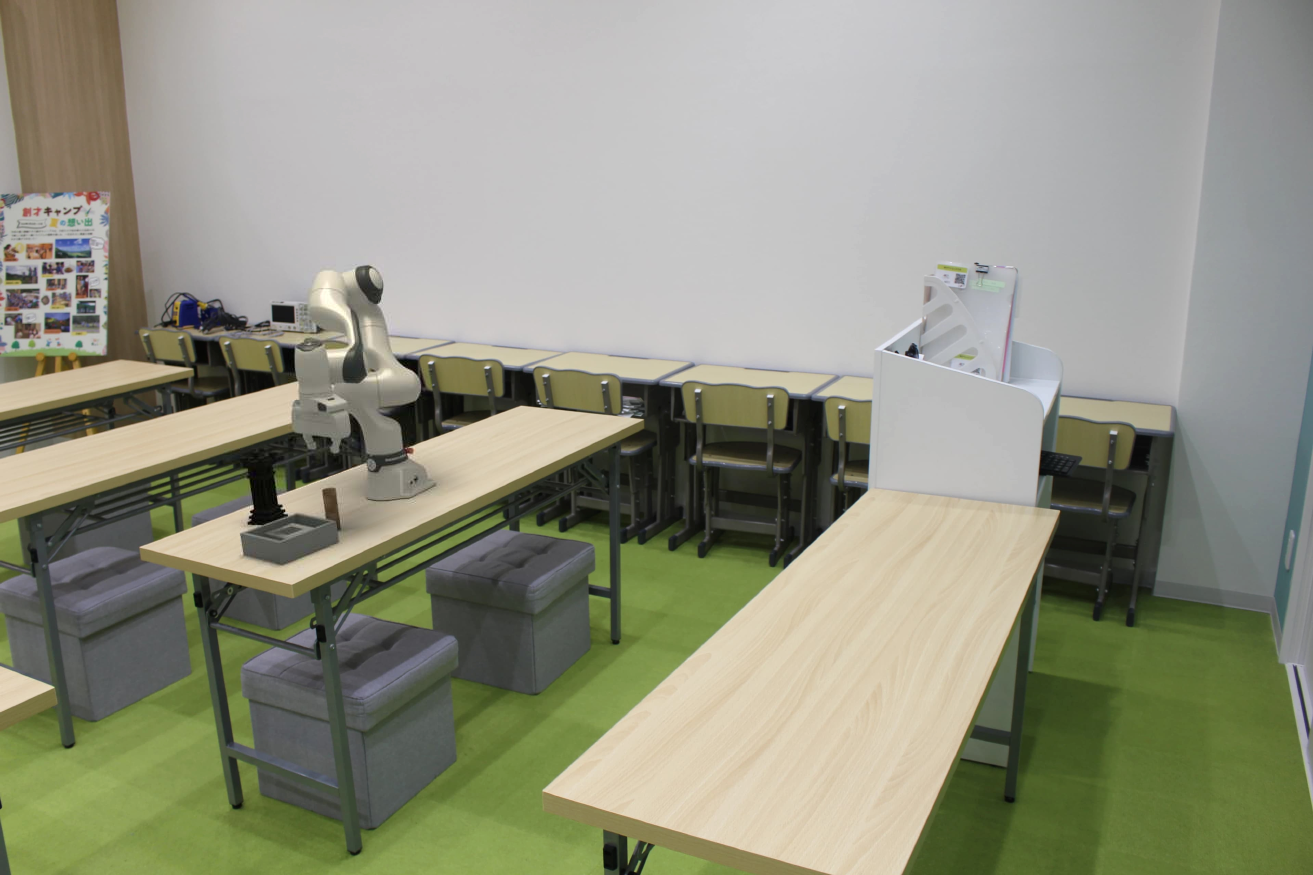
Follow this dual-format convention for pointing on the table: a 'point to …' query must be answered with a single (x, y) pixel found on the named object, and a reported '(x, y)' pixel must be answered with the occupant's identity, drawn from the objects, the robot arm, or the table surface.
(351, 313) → the robot arm
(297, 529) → the grey square frame
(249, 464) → the chess piece
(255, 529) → the open box
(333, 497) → the peg
